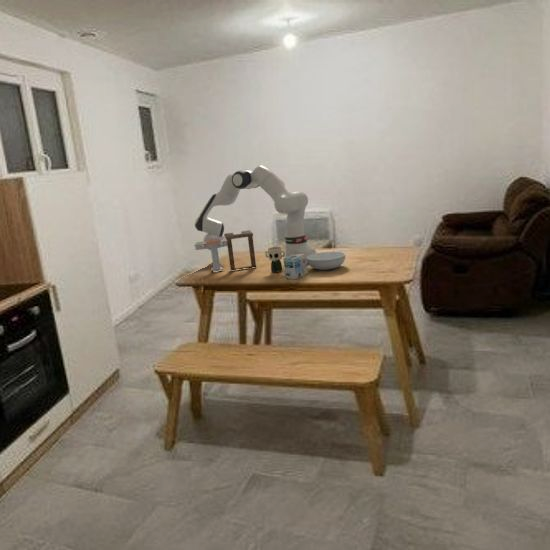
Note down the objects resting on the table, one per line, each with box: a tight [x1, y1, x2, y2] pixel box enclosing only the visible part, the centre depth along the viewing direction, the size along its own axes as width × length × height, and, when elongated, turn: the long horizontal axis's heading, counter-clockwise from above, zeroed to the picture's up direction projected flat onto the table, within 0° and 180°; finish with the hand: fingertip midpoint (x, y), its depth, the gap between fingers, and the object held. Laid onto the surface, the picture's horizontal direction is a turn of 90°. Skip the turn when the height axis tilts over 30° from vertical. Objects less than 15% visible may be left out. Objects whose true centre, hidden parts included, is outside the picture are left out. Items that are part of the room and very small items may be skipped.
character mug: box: [264, 246, 285, 273], centre depth 264 cm, size 11×7×13 cm, turn 73°
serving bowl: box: [306, 251, 346, 271], centre depth 260 cm, size 21×21×7 cm
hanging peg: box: [206, 238, 224, 272], centre depth 280 cm, size 8×8×18 cm
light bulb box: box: [282, 254, 308, 280], centre depth 249 cm, size 11×7×11 cm, turn 143°
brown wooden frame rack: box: [223, 229, 257, 271], centre depth 281 cm, size 14×15×20 cm
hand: (212, 246), depth 292 cm, fingers open, 8 cm apart
